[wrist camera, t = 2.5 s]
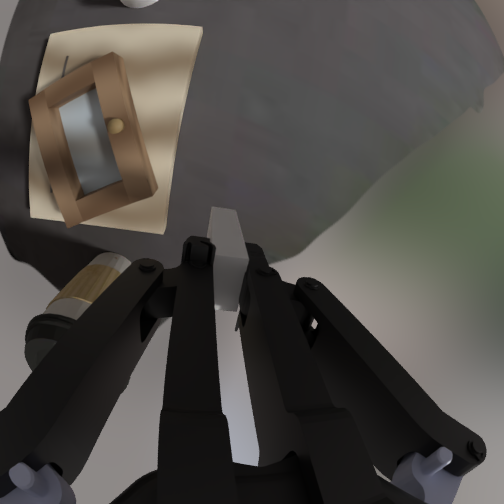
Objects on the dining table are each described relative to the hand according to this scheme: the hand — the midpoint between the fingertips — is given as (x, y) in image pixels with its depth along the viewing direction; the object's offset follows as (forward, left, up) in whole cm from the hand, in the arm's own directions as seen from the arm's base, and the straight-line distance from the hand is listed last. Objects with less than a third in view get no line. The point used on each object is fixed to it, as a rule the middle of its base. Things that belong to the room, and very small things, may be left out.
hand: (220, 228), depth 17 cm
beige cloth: (-5, -13, -10) cm, 17 cm away
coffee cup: (+12, -11, -10) cm, 19 cm away
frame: (-4, -12, -8) cm, 15 cm away
